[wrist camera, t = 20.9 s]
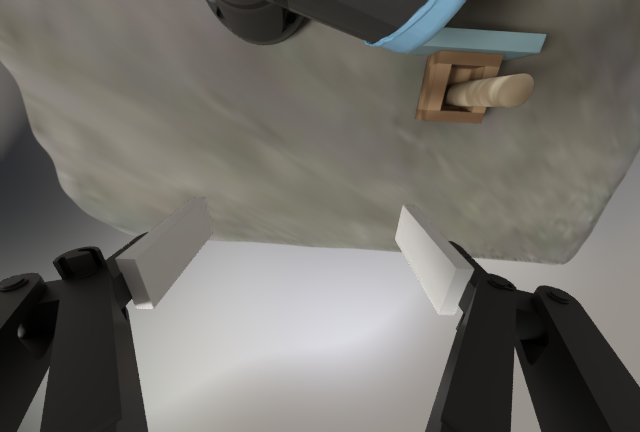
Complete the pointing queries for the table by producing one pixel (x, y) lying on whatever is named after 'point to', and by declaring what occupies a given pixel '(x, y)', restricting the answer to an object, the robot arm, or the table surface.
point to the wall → (483, 42)
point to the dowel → (490, 92)
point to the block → (454, 70)
